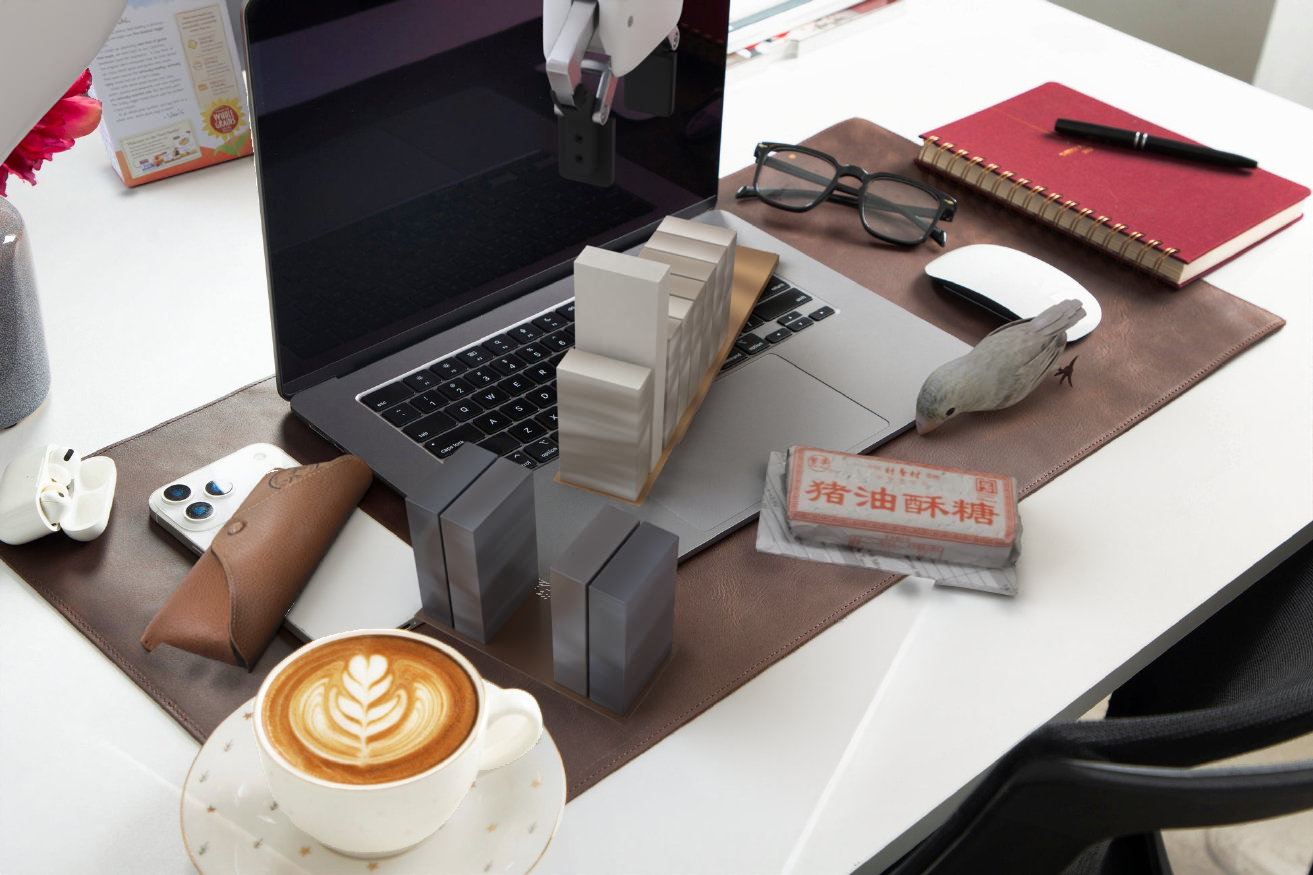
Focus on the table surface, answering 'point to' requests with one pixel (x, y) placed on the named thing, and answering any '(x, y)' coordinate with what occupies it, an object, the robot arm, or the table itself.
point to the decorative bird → (999, 367)
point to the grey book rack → (581, 584)
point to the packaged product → (892, 517)
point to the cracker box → (171, 90)
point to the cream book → (626, 320)
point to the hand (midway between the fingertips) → (619, 144)
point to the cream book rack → (698, 342)
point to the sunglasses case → (260, 562)
